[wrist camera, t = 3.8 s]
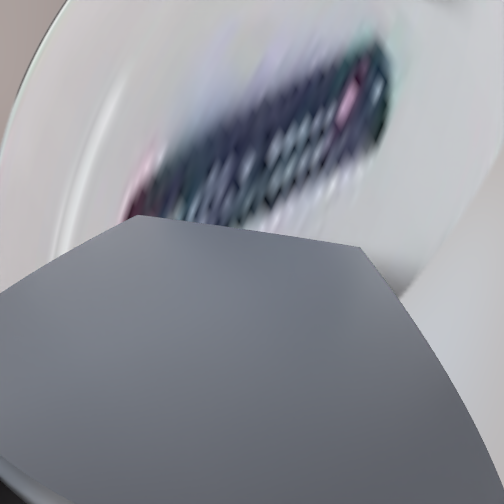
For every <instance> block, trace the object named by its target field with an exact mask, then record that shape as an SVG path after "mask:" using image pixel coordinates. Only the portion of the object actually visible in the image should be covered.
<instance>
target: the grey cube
mask: <svg viewBox="0 0 504 504" xmlns="http://www.w3.org/2000/svg"><path fill="white" fill-rule="evenodd" d="M0 481H1V482H3V483H4V484H5V485H6V486H7V487H8V488H9V489H10V490H11V491H12V492H13V493H15V494H16V495H17V496H18V497H19V498H20V499H22V500H23V501H24V502H25V503H26V504H504V488H503V486H502V483H501V481H500V478H499V476H498V474H497V471H496V469H495V466H494V464H493V462H492V460H491V457H490V455H489V453H488V451H487V448H486V446H485V444H484V442H483V440H482V438H481V436H480V434H479V432H478V430H477V428H476V426H475V424H474V422H473V420H472V418H471V416H470V414H469V412H468V410H467V408H466V407H465V405H464V403H463V401H462V399H461V398H460V396H459V394H458V392H457V390H456V389H455V387H454V385H453V383H452V382H451V380H450V378H449V376H448V375H447V373H446V371H445V370H444V368H443V366H442V365H441V363H440V361H439V360H438V358H437V357H436V355H435V353H434V352H433V350H432V349H431V347H430V345H429V344H428V343H427V341H426V339H425V338H424V336H423V335H422V333H421V332H420V330H419V328H418V327H417V325H416V324H415V322H414V321H413V320H412V318H411V317H410V315H409V314H408V312H407V311H406V310H405V308H404V306H403V305H402V303H401V302H400V301H399V299H398V298H397V296H396V295H395V293H394V292H393V291H392V289H391V288H390V287H389V285H388V284H387V282H386V281H385V280H384V278H383V277H382V276H381V274H380V273H379V272H378V270H377V269H376V268H375V266H374V265H373V264H372V262H371V261H370V260H369V258H368V257H367V256H366V254H365V253H364V252H363V251H362V249H361V248H360V247H354V246H348V245H342V244H336V243H330V242H324V241H317V240H311V239H305V238H298V237H292V236H285V235H279V234H272V233H265V232H259V231H252V230H245V229H238V228H231V227H224V226H217V225H210V224H203V223H195V222H188V221H180V220H173V219H165V218H157V217H150V216H142V215H137V216H135V217H133V218H131V219H129V220H127V221H125V222H123V223H121V224H119V225H117V226H115V227H113V228H111V229H109V230H107V231H105V232H103V233H101V234H99V235H98V236H96V237H94V238H92V239H90V240H88V241H86V242H85V243H83V244H81V245H79V246H77V247H76V248H74V249H72V250H70V251H68V252H67V253H65V254H63V255H61V256H60V257H58V258H56V259H55V260H53V261H51V262H49V263H48V264H46V265H44V266H43V267H41V268H39V269H38V270H36V271H35V272H33V273H31V274H30V275H28V276H26V277H25V278H23V279H22V280H20V281H19V282H17V283H15V284H14V285H12V286H11V287H9V288H8V289H6V290H5V291H3V292H2V293H0Z"/></svg>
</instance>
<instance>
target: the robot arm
mask: <svg viewBox="0 0 504 504" xmlns="http://www.w3.org/2000/svg"><path fill="white" fill-rule="evenodd" d="M0 504H26V503H25V502H24V501H23V500H22V499H20V498H19V497H18V496H17V495H16V494H15V493H13V492H12V491H11V490H10V489H9V488H8V487H7V486H6V485H5V484H4V483H3V482H1V481H0Z"/></svg>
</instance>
